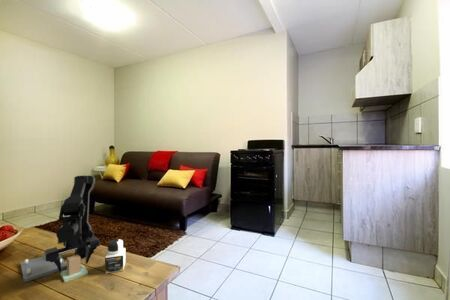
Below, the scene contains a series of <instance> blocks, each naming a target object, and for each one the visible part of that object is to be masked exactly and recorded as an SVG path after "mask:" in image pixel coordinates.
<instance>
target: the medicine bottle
mask: <svg viewBox="0 0 450 300" xmlns="http://www.w3.org/2000/svg"><path fill="white" fill-rule="evenodd" d="M126 256H127V252H126V247H124V241H123V239H119V238H118V239H117V238H116V239H112V240H111V241H110V240H109V242H108V243H107V252H106V254H105V257H104V273H105V274H111V273H117V272H123V271H124V270H125V266H126V260H127V258H126Z"/></svg>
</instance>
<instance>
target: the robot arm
mask: <svg viewBox="0 0 450 300" xmlns="http://www.w3.org/2000/svg"><path fill="white" fill-rule="evenodd" d="M95 184H96V178H95V176H93V175H87V174H86V175H76V176H75V177H74V179H73V186H72V190H71V193H70V196H68V197H67V198H65V200H64V201H63V204H61V206H60V211H59V216H58V221H57V222H59V223H61V222H62V225H61V227H59V228H58V229H57V231H56V238H57V244H58V245H59V244H62V243H63V247H62V248H59V249H58V248H57V246H55V247H51V248H48V249H45V250H44V251H43V256H44V258H45V260H46V261H50V262H54V263H55V264H56V265H57V268H58V270H59V271H58V272H59V274H60V273H61V271H62V270H61V263H60V258H59V254H64V253H68V252H72V251H74V255H77V254H78V255H79V256H80V257H81V259H85V265H88V263H89V260H90V259H91V256H92V254H94V252H95V250H97V247H100V246H101V242H100V239H99V238H98V237H97V236H95V233H94V231H93V230H92V225H91V224H90V223H89V216H90V215H89V213H90V194H91V192H92V191H93V190H94V187H95Z"/></svg>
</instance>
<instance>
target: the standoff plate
mask: <svg viewBox="0 0 450 300" xmlns="http://www.w3.org/2000/svg"><path fill="white" fill-rule="evenodd" d="M59 258H60V263H61V271H64V270H67V262H66V261H65V260H64V258H63V256H62V255H61V254H59ZM20 269H21V273H22V278H23V279H22V280H23V283H27V282H31V281H33V280H36V279H39V278H42V277H45V276H48V275H51V274H53V273H57V272H59V270H58V268H57V265H56V264H55V263H54V262H50V261H46V260H45V258H44V255H42V256H39V257H36V258H33V259H28V258H26V259H24V261H21V262H20Z"/></svg>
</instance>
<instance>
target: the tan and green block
mask: <svg viewBox="0 0 450 300" xmlns="http://www.w3.org/2000/svg"><path fill="white" fill-rule="evenodd" d="M81 259H82V258H81V257H80V256H79V255H78V254H77V255H75V254H73V255H71V256H68V257H66V265H67V268H66V269H63V270H61V273H60V272H59V275H60V277H61V278H62V280H63V282H64V283H67V282H69V281H71V280H75V279H77V278H80V277H83V276H86V275H88V274H89V273H88V270H87V268H86V267H85V266H84V265H83V264H82V263H81V262H82V260H81Z"/></svg>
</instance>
